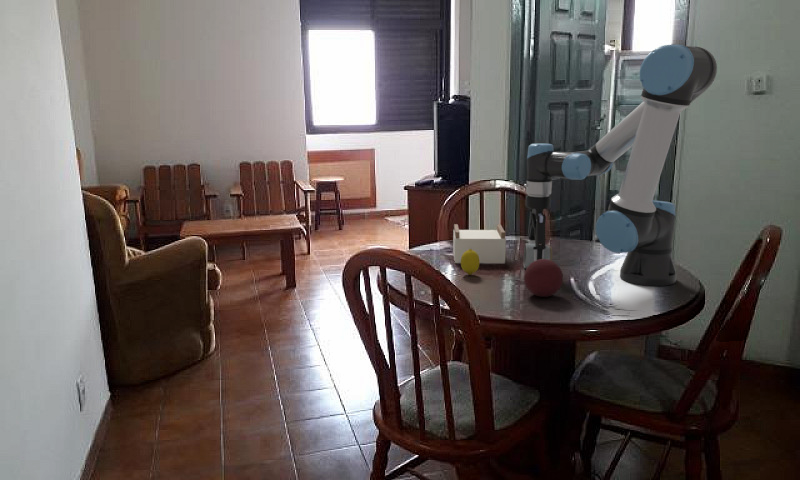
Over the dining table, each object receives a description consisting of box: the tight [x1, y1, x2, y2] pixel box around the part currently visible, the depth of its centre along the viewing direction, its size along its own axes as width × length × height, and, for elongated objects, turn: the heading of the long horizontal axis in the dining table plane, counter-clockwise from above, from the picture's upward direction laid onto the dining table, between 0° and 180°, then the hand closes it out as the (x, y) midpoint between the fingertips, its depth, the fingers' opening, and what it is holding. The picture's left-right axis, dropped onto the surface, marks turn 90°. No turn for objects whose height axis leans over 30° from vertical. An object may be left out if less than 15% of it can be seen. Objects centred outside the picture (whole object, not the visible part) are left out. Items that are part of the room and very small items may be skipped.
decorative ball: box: [523, 259, 564, 298], centre depth 166 cm, size 10×10×10 cm
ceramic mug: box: [523, 242, 553, 269], centre depth 196 cm, size 11×8×8 cm
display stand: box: [452, 223, 507, 264], centre depth 207 cm, size 14×16×10 cm
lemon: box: [460, 249, 480, 276], centre depth 187 cm, size 6×6×8 cm
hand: (535, 265), depth 196 cm, fingers closed on ceramic mug, 11 cm apart
